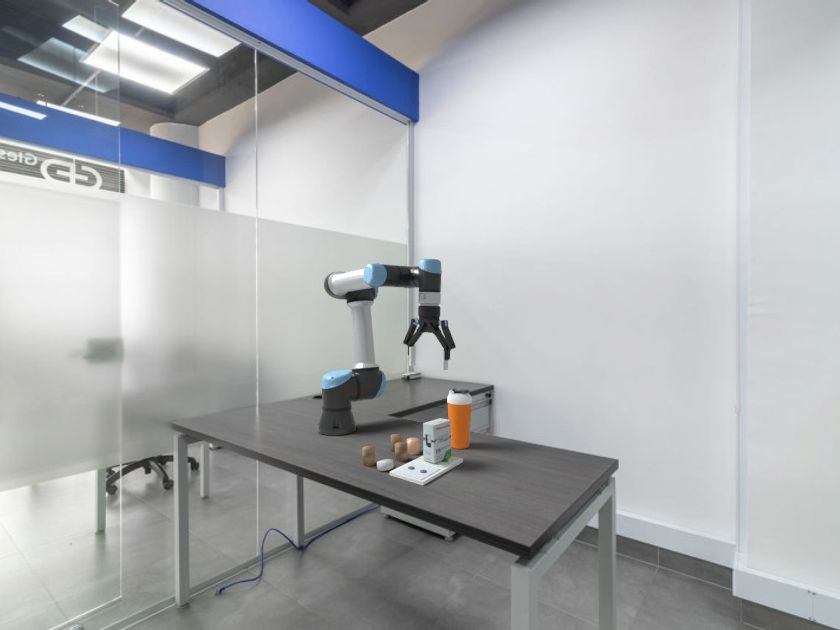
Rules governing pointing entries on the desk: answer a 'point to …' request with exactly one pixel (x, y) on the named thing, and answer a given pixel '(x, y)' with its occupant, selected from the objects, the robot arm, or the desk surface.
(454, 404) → the shaker bottle
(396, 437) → the brown rounded capsule
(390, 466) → the light gray rounded ball
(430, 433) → the ink box
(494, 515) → the desk surface
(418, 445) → the peach rounded capsule
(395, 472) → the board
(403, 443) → the brown rounded capsule
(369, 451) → the tan rounded capsule
